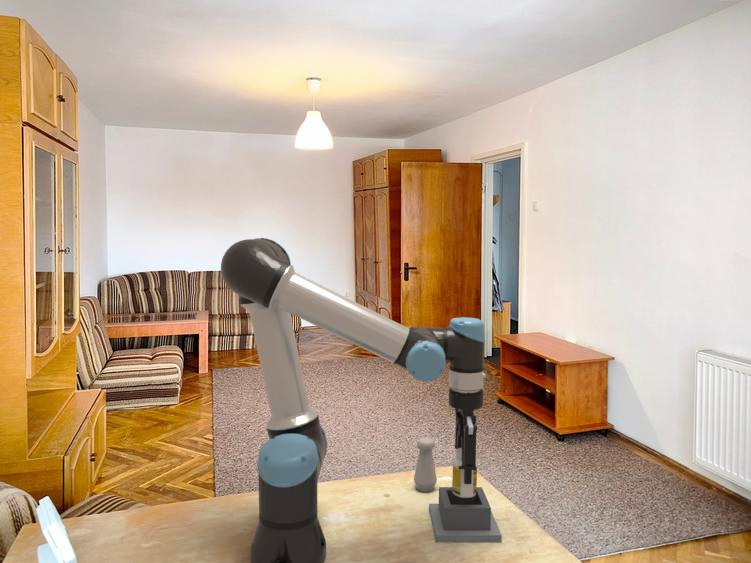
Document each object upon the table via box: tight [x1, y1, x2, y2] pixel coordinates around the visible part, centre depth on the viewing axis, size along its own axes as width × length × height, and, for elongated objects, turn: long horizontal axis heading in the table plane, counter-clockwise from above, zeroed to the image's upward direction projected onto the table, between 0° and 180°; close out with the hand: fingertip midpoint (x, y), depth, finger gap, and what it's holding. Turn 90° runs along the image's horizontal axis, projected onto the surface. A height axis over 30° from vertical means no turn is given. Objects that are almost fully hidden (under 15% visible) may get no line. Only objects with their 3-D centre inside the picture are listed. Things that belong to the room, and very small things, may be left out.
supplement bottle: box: [451, 448, 478, 498], centre depth 126 cm, size 5×5×10 cm
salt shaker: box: [413, 437, 438, 493], centre depth 144 cm, size 6×6×13 cm
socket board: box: [428, 486, 503, 543], centre depth 127 cm, size 14×14×6 cm
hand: (464, 489), depth 126 cm, fingers closed on supplement bottle, 5 cm apart
